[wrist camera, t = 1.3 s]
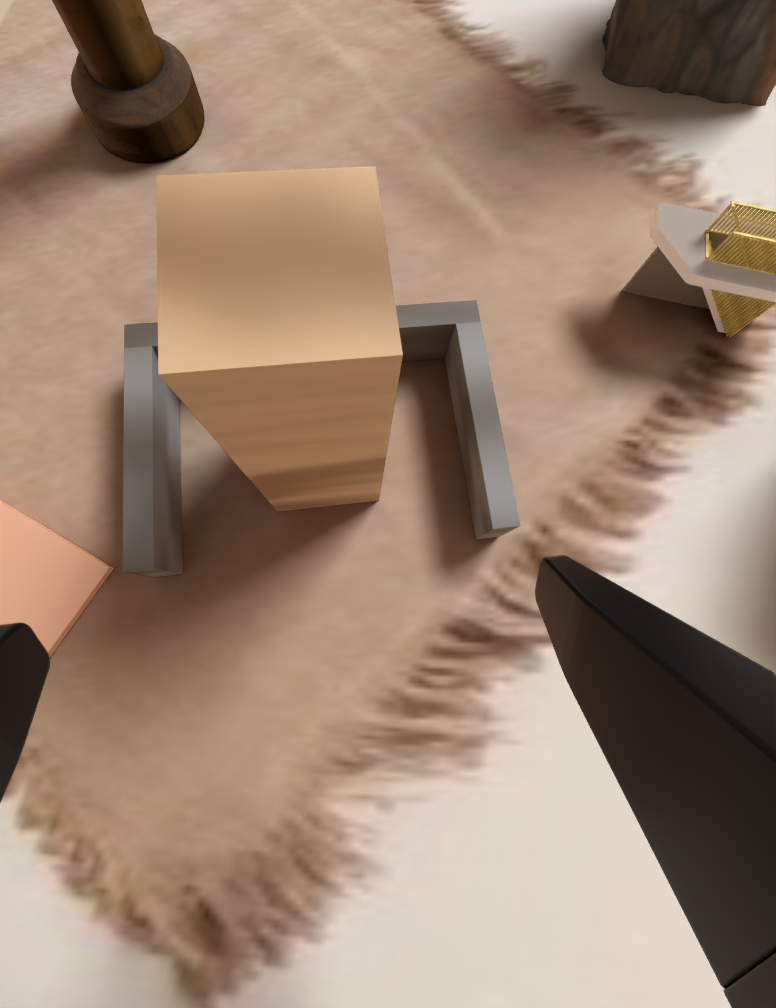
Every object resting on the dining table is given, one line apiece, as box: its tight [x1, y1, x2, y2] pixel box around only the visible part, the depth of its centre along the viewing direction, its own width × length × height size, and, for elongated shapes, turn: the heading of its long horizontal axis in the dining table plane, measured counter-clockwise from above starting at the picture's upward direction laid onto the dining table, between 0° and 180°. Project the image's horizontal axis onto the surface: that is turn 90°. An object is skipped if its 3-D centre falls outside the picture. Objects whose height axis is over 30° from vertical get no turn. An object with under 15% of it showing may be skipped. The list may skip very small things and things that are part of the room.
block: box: [156, 166, 403, 511], centre depth 16 cm, size 5×5×13 cm
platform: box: [623, 201, 776, 337], centre depth 23 cm, size 12×18×7 cm, turn 79°
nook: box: [122, 300, 520, 577], centre depth 21 cm, size 11×16×3 cm
